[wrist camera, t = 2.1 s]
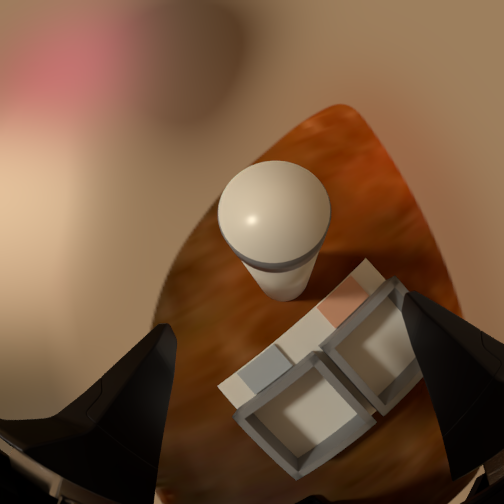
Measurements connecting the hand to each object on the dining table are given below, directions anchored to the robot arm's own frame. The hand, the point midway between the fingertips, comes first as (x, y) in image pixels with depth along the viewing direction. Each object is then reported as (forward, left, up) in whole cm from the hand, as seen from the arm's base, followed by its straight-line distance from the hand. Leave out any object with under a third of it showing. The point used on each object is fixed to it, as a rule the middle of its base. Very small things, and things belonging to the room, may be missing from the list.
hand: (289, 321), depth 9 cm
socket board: (0, -5, -12) cm, 13 cm away
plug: (+2, +3, -12) cm, 13 cm away
